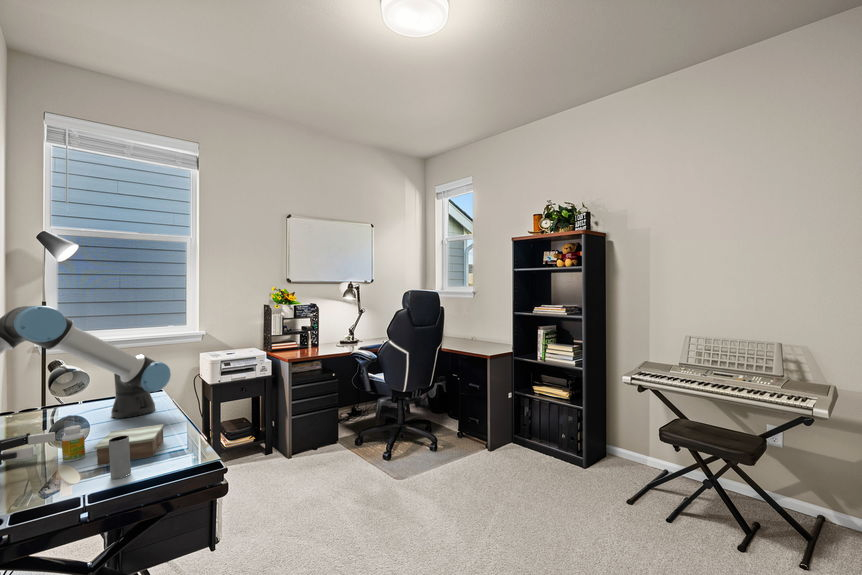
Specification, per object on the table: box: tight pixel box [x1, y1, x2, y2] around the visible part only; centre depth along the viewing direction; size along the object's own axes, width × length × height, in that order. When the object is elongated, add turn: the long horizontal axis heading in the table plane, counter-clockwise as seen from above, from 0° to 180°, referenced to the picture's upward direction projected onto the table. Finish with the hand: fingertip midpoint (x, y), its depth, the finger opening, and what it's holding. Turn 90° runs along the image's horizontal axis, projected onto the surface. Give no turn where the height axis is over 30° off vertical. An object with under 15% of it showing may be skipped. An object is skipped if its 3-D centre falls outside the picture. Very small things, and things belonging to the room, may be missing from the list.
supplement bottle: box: [61, 424, 86, 463], centre depth 133 cm, size 5×5×10 cm
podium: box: [93, 423, 165, 466], centre depth 136 cm, size 15×15×6 cm
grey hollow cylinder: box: [109, 435, 132, 480], centre depth 119 cm, size 4×4×10 cm
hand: (44, 444), depth 130 cm, fingers open, 13 cm apart
